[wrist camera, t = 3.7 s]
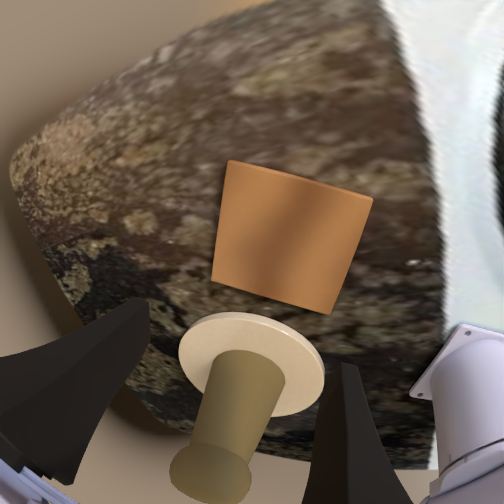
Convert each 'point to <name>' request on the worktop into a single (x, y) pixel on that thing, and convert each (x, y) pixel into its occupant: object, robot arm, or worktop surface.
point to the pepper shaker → (228, 428)
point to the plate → (258, 341)
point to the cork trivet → (286, 235)
